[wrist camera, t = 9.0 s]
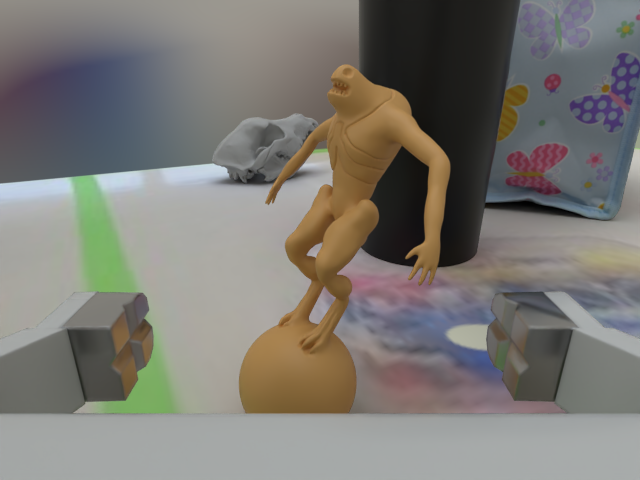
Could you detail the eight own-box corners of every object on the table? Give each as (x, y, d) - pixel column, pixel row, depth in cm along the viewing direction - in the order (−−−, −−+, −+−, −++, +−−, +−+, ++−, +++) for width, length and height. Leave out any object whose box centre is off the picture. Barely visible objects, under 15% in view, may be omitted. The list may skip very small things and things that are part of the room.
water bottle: (522, 261, 29) (605, -188, 20) (379, 281, 26) (406, -226, 18) (441, 215, 38) (475, -108, 29) (329, 226, 35) (331, -125, 27)
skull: (199, 154, 51) (265, 79, 52) (253, 202, 55) (313, 132, 56) (215, 161, 44) (290, 75, 45) (275, 215, 49) (342, 135, 50)
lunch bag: (660, 230, 34) (795, -211, 24) (441, 207, 40) (479, -158, 30) (601, 171, 54) (663, -86, 44) (460, 162, 59) (487, -69, 50)
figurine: (206, 380, 18) (167, 65, 13) (327, 335, 21) (328, 66, 16) (314, 559, 11) (309, 59, 7) (468, 454, 14) (532, 62, 10)
